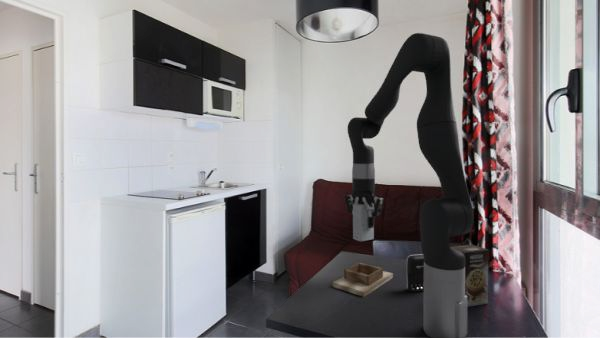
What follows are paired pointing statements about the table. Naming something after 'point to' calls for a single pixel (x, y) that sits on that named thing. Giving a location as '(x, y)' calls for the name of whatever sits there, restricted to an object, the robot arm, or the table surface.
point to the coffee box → (475, 273)
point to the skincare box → (361, 223)
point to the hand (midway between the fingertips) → (363, 226)
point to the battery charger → (415, 273)
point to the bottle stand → (362, 279)
